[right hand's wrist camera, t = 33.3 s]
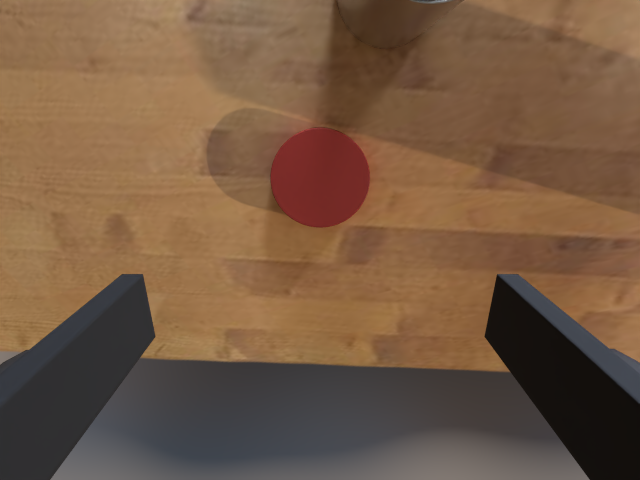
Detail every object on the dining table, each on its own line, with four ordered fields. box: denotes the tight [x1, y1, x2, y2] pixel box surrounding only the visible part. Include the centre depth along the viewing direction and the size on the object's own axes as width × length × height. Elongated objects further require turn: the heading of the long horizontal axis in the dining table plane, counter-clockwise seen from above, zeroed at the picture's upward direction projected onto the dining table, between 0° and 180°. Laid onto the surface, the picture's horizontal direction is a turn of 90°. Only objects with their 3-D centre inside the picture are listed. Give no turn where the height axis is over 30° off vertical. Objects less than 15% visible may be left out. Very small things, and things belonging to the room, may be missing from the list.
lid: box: [271, 128, 370, 227], centre depth 37 cm, size 11×11×2 cm
